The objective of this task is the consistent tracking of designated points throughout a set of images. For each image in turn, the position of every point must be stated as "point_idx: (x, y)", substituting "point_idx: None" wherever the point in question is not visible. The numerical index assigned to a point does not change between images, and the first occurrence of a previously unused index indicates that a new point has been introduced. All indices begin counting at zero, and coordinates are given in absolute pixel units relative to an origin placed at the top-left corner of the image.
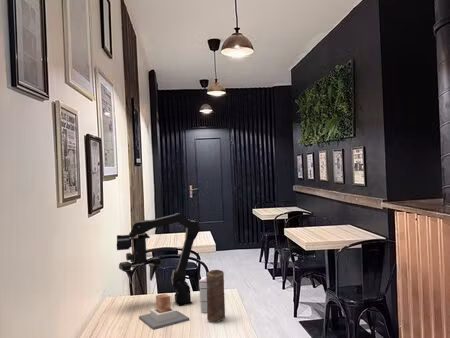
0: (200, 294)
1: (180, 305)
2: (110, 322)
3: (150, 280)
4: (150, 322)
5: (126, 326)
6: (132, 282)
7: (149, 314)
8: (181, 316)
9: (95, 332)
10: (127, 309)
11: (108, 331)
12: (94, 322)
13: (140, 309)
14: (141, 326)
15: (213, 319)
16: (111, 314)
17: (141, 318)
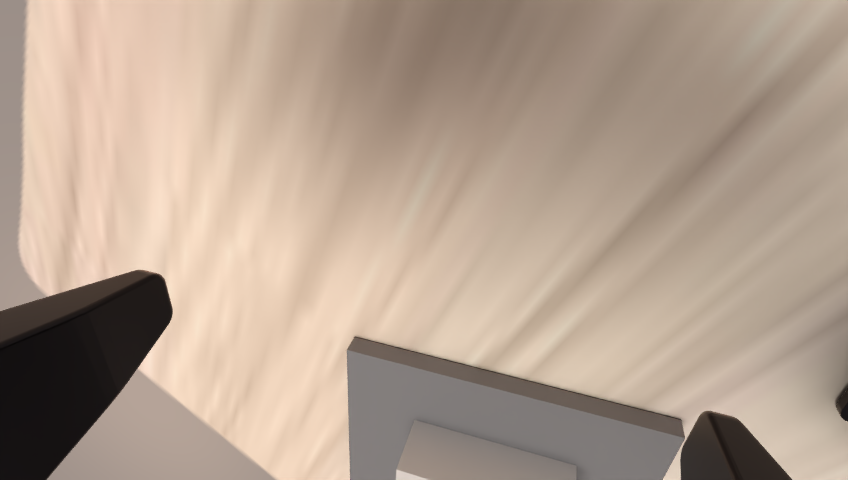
0: None
1: (841, 414)
2: (157, 237)
3: (690, 433)
4: (367, 478)
5: (244, 374)
6: (139, 362)
7: (428, 384)
8: None
9: None
10: (348, 21)
11: None
12: (46, 141)
13: (465, 147)
14: (320, 438)
15: None
16: (172, 52)
17: (349, 387)
